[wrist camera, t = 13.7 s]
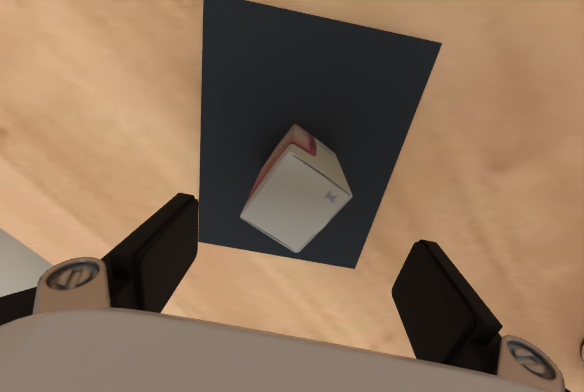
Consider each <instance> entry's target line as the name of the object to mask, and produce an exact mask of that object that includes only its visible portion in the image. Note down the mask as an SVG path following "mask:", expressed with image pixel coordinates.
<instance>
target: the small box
mask: <svg viewBox="0 0 584 392" xmlns="http://www.w3.org/2000/svg"><path fill="white" fill-rule="evenodd" d="M351 198H352V193H351V191H350V188H349V186H348V183H347V181H346V178H345V176H344V173H343V171H342V169H341V166H340V164H339V161H338V159H337V157H336V154H335V153H334V152H332V151H331V150H330V149H329V148H327V147H326V146H325V145H324V144H323V143H321V142H320V141H319V140H317V139H316V138H315V137H313V136H312V135H311V134H309V133H308V132H306V131H305V130H304V129H302V128H301V127H299V126H298V125H296V124H294V125H293V126H292V127H291V128H290V130H289V131H288V132H287V133H286V135H285V136H284V137H283V139H282V140H281V141H280V143H279V144H278V145H277V147H276V148H275V150H274V151H273V152H272V154H271V155H270V157H269V158H268V160H267V161H266V163H265V164H264V166H263V167H262V169H261V171H260V173H259V175H258V177H257V180H256V182H255V184H254V186H253V188H252V191H251V193H250V195H249V197H248V199H247V201H246V204H245V206H244V208H243V211H242V213H241V215H240V217H241V218H242V219H243V220H245V221H246V222H248V223H249V224H251V225H252V226H254V227H256V228H257V229H259V230H260V231H262V232H263V233H265V234H266V235H268V236H269V237H271V238H272V239H274V240H276V241H277V242H279V243H280V244H282V245H284V246H285V247H287V248H288V249H290V250H292V251H293V252H295V253H297V252H300V251H301V250H302V249H303V248H304V247H305V246H306V245H307V244H308V243H309V242H310V241H311V240H312V239H313V238H314V237H315V235H316V234H317V233H318V232H319V231H321V230H322V229H323V228H324V227H325V226H326V224H327V223H328V222H329V221H330V220H331V219H332V218H333V217H334V216H335V215H336V214H337V213H338V211H339V210H340V209H341V208H342V207H343V206H344V205H345V204H346V203H347V202H348V201H349V200H350V199H351Z"/></svg>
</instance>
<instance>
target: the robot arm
mask: <svg viewBox="0 0 584 392" xmlns="http://www.w3.org/2000/svg"><path fill="white" fill-rule="evenodd" d="M198 208H199V202H198V200H197V199H195V197H194V195H189V194H184V193H178V194H177V195H176V196H175V197H173V198H172V199H171V200H170V201H169V202H168V203H166V204H165V205H164V206H163V207H162V208H161V209H159V210H158V211H157V212H156V213H155V214H154V215H152V216H151V217H150V218H149V219H148V220H147V221H145V222H144V223H143V224H142V225H140V226H139V227H138V228H137V229H136V230H135V231H133V232H132V233H131V234H130V235H129V236H128V237H126V238H125V239H124V240H123V241H122V242H121V243H119V244H118V245H117V246H116V247H115V248H114V249H112V250H111V251H110V252H109V253H108V254H107V255H105V256H104V257H103V258H102V259H101V260H100V259H97V258H93V257H81V258H74V259H71V260H67V261H64V262H62V263H59V264H57V265H55V266H53V267H52V268H50V269H49V270H47V271H46V272H45V273H44V274H43V275H42V276H41V277H40V279H39V281H38V285H37V287H34V288H31V289H27V290H24V291H21V292H17V293H13V294H10V295H6V296H3V297H0V392H570V391H569V390H567V389H566V388H565V384H564V378H563V376H562V373H561V371H560V370H559V368H558V367H557V365H556V364H555V363H554V362H553V361H552V360H551V359H550V358H549V357H548V356H547V355H546V354H545V353H544V352H542V351H541V350H540V349H539V348H537V347H536V346H534V345H533V344H531V343H529V342H527V341H526V340H524V339H522V338H519V337H516V336H511V335H506V336H503V337H501V336H500V334H499V333H498V332H499V331H500V329H501V328H502V327H503V326H502V325H501V323H500V322H499V321H498V320H497V318H496V317H495V316H494V315H493V313H492V312H491V311H490V309H489V308H488V307H487V306H486V304H485V303H484V302H483V301H482V299H481V298H480V297H479V296H478V294H477V293H476V292H475V291H474V289H473V288H472V287H471V286H470V284H469V283H468V282H467V280H466V279H465V278H464V277H463V275H462V274H461V273H460V272H459V270H458V269H457V268H456V267H455V265H454V264H453V263H452V262H451V260H450V259H449V258H448V257H447V255H446V254H445V253H444V251H443V250H442V249H441V248H440V246H439V245H438V244H437V243H436V242H432V241H427V240H420V241H418V242H415V243H414V245H413V247H412V249H411V251H410V253H409V255H408V257H407V259H406V261H405V263H404V265H403V267H402V269H401V271H400V273H399V275H398V277H397V279H396V281H395V283H394V285H393V288H392V297H393V300H394V302H395V305H396V307H397V310H398V312H399V315H400V318H401V320H402V323H403V325H404V328H405V330H406V333H407V336H408V338H409V341H410V343H411V346H412V348H413V351H414V354H415V356H416V359H414V358H409V357H403V356H398V355H393V354H387V353H382V352H377V351H371V350H366V349H361V348H355V347H350V346H344V345H339V344H333V343H328V342H323V341H317V340H312V339H306V338H301V337H295V336H289V335H284V334H278V333H273V332H267V331H262V330H256V329H250V328H245V327H239V326H233V325H228V324H222V323H216V322H211V321H205V320H199V319H193V318H187V317H180V316H174V315H168V314H162V313H161V311H162V310H163V308H164V306H165V305H166V303H167V302H168V300H169V299H170V297H171V296H172V294H173V292H174V291H175V289H176V288H177V286H178V285H179V283H180V282H181V280H182V278H183V277H184V275H185V274H186V272H187V271H188V269H189V268H190V266H191V264H192V263H193V261H194V260H195V258H196V255H197V250H198ZM582 359H583V360H584V345H583V348H582Z"/></svg>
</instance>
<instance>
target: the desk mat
mask: <svg viewBox="0 0 584 392" xmlns="http://www.w3.org/2000/svg"><path fill="white" fill-rule="evenodd" d="M441 45H442V43H438V42H434V41H429V40H424V39H420V38H415V37H411V36H406V35H401V34H397V33H392V32H388V31H383V30H379V29H374V28H369V27H365V26H360V25H356V24H351V23H346V22H342V21H337V20H333V19H328V18H324V17H319V16H314V15H310V14H305V13H301V12H296V11H291V10H287V9H282V8H278V7H273V6H269V5H264V4H259V3H255V2H250V1H246V0H204V6H203V51H202V97H201V142H200V188H199V233H198V242H203V243H209V244H214V245H220V246H226V247H232V248H237V249H243V250H249V251H255V252H260V253H266V254H272V255H278V256H283V257H289V258H295V259H301V260H306V261H312V262H318V263H324V264H329V265H335V266H341V267H347V268H352V269H355V267H356V264H357V262H358V259H359V256H360V254H361V251H362V249H363V246H364V244H365V241H366V238H367V236H368V233H369V231H370V228H371V226H372V223H373V220H374V218H375V215H376V213H377V210H378V207H379V205H380V202H381V200H382V197H383V195H384V192H385V189H386V187H387V184H388V182H389V179H390V176H391V174H392V171H393V169H394V166H395V164H396V161H397V158H398V156H399V153H400V151H401V148H402V146H403V143H404V140H405V138H406V135H407V133H408V130H409V127H410V125H411V122H412V120H413V117H414V115H415V112H416V109H417V107H418V104H419V102H420V99H421V96H422V94H423V91H424V89H425V86H426V84H427V81H428V78H429V76H430V73H431V71H432V68H433V66H434V63H435V60H436V58H437V55H438V53H439V50H440V47H441ZM294 124H296V125H298V126H299V127H301V128H302V129H304V130H305V131H306V132H308V133H309V134H311V135H312V136H313V137H315V138H316V139H317V140H319V141H320V142H321V143H323V144H324V145H325V146H326V147H327V148H329V149H330V150H331V151H332V152H334V153H335V154H336V157H337V159H338V161H339V164H340V166H341V169H342V171H343V173H344V176H345V178H346V181H347V183H348V186H349V188H350V191H351V193H352V198H351V199H350V200H349V201H348V202H347V203H346V204H345V205H344V206H343V207H342V208H341V209H340V210H339V211H338V213H337V214H336V215H335V216H334V217H333V218H332V219H331V220H330V221H329V222H328V223H327V224H326V226H325V227H324V228H323V229H322V230H321V231H319V232H318V233H317V234H316V235H315V237H314V238H313V239H312V240H311V241H310V242H309V243H308V244H307V245H306V246H305V247H304V248H303V249H302V250H301V251H300V252H297V253H295V252H293V251H292V250H290V249H288V248H287V247H285V246H284V245H282V244H280V243H279V242H277V241H276V240H274V239H272V238H271V237H269V236H268V235H266V234H265V233H263V232H262V231H260V230H259V229H257V228H256V227H254V226H252V225H251V224H249V223H248V222H246V221H245V220H243V219H242V218H241V217H240V215H241V213H242V211H243V208H244V206H245V204H246V201H247V199H248V197H249V195H250V193H251V191H252V188H253V186H254V184H255V182H256V180H257V177H258V175H259V173H260V171H261V169H262V167H263V166H264V164H265V163H266V161H267V160H268V158H269V157H270V155H271V154H272V152H273V151H274V150H275V148H276V147H277V145H278V144H279V143H280V141H281V140H282V139H283V137H284V136H285V135H286V133H287V132H288V131H289V130H290V128H291V127H292V126H293V125H294Z"/></svg>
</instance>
